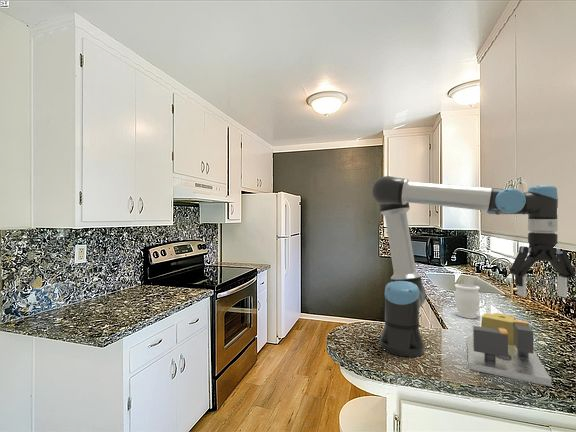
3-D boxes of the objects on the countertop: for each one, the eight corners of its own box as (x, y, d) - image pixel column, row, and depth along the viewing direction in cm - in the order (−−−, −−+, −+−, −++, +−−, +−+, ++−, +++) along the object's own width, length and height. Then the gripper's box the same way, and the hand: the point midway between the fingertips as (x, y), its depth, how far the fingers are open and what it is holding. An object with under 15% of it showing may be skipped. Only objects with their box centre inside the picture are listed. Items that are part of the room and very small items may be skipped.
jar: (473, 313, 154) (472, 283, 154) (484, 319, 144) (484, 288, 144) (451, 312, 155) (451, 283, 155) (460, 319, 145) (460, 287, 145)
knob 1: (473, 358, 98) (473, 327, 98) (473, 354, 101) (473, 323, 102) (508, 365, 93) (507, 332, 94) (506, 360, 97) (506, 328, 97)
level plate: (468, 369, 95) (468, 360, 95) (466, 342, 116) (466, 335, 116) (551, 386, 85) (551, 377, 85) (532, 354, 106) (532, 346, 106)
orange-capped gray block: (533, 361, 96) (533, 329, 97) (517, 358, 98) (517, 327, 98) (527, 351, 104) (527, 321, 104) (513, 348, 106) (513, 319, 106)
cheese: (484, 334, 125) (484, 310, 125) (517, 341, 118) (517, 315, 118) (480, 342, 117) (480, 316, 117) (515, 350, 110) (515, 322, 110)
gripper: (514, 232, 97) (513, 298, 96) (590, 233, 97) (590, 299, 97) (497, 231, 104) (496, 293, 104) (568, 232, 105) (568, 294, 104)
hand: (541, 296), depth 100 cm, fingers open, 13 cm apart
